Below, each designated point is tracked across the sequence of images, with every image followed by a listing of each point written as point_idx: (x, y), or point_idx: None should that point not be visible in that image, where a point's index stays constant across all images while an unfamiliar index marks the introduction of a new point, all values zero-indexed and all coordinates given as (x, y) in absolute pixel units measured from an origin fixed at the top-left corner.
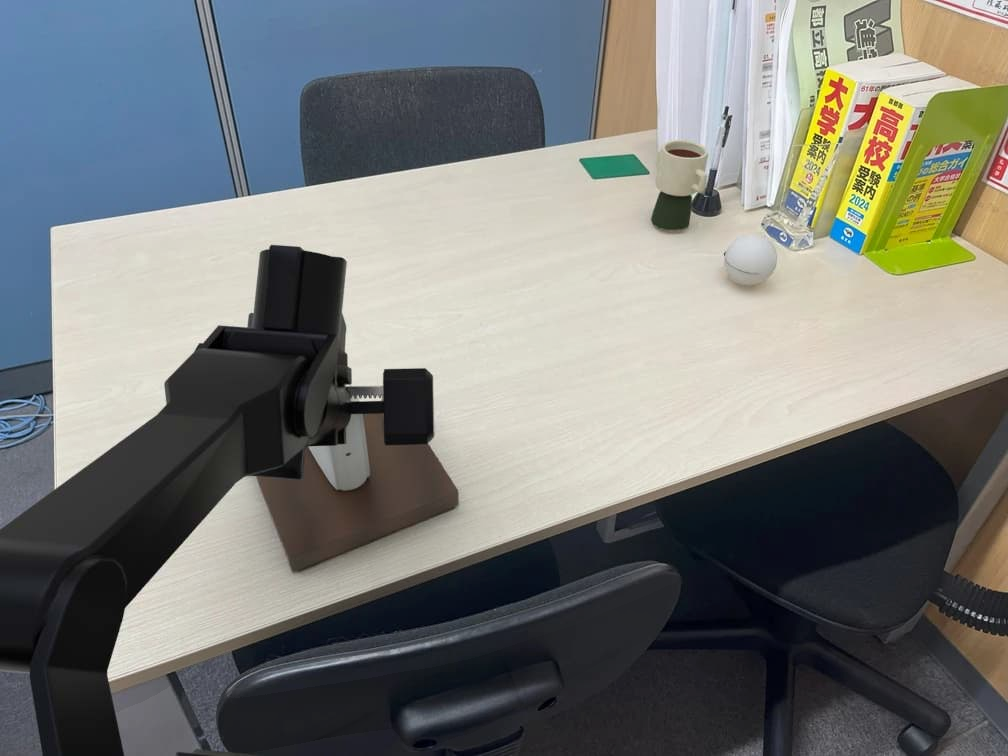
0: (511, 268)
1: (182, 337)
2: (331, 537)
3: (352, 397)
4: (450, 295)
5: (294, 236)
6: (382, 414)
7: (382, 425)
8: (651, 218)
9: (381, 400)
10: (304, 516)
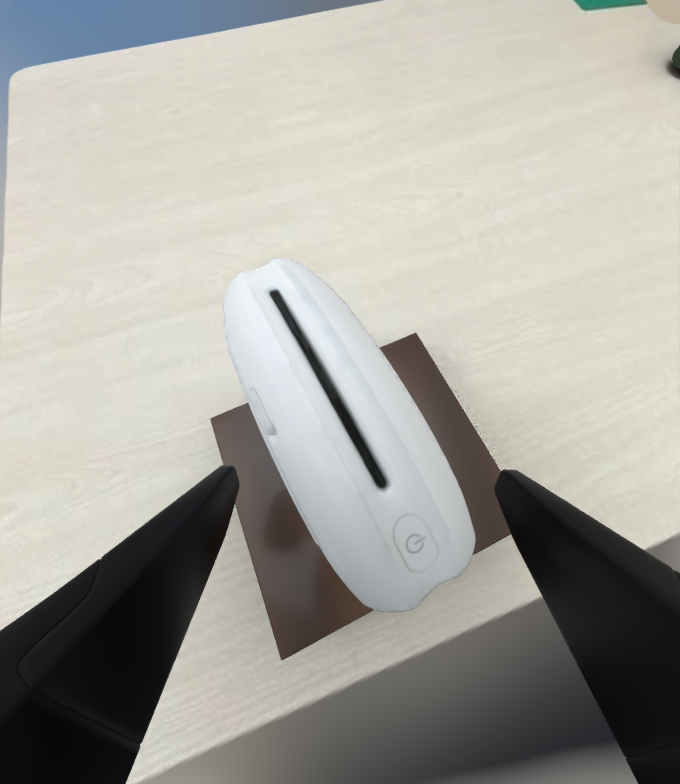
0: (511, 128)
1: (138, 218)
2: (345, 614)
3: (468, 534)
4: (444, 165)
5: (257, 83)
6: (619, 655)
7: (578, 647)
8: (674, 57)
9: (561, 526)
10: (300, 564)
